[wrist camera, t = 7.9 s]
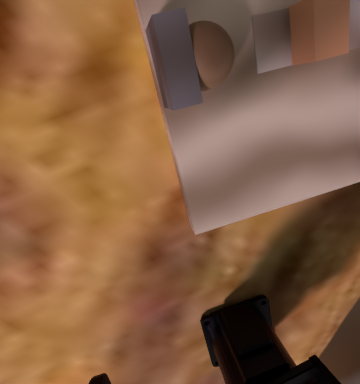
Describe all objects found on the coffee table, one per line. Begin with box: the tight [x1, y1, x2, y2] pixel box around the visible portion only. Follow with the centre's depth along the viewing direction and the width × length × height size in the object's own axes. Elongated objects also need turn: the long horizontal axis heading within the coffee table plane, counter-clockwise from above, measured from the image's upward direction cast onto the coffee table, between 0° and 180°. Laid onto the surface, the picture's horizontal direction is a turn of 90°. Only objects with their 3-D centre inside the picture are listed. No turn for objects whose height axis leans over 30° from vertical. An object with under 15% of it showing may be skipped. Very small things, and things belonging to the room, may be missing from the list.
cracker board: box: [134, 0, 360, 235], centre depth 16 cm, size 18×19×5 cm
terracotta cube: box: [289, 0, 350, 65], centre depth 14 cm, size 3×2×2 cm, turn 13°
